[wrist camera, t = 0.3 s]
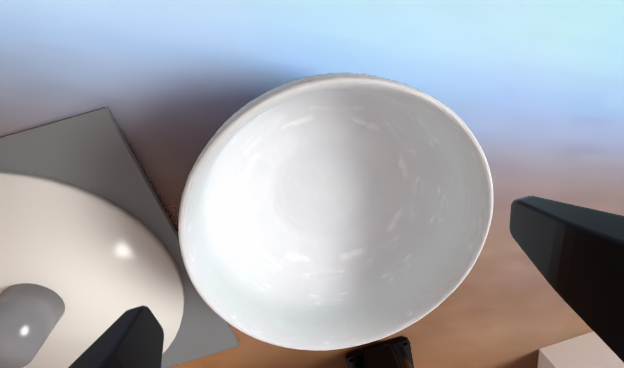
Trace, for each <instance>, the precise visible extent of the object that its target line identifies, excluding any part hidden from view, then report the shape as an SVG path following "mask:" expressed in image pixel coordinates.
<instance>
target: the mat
mask: <svg viewBox="0 0 624 368" xmlns="http://www.w3.org/2000/svg"><path fill="white" fill-rule="evenodd" d="M0 171H11V172H19V173H28V174H33V175H38V176H43V177H47V178H52V179H56V180H59V181H62V182H65V183H69V184H72V185H75V186H78V187H80V188H83V189H85V190H87V191H90V192H92V193H95V194H97V195H99V196H101V197H103V198H105V199H107V200H109V201H110V202H112V203H114V204H116V205H118V206H120V207H121V208H123V209H124V210H125V211H127V212H128V213H130V214H131V215H133V216H134V217H136V218H137V219H138V220H139V221H141V222H142V223H143V224H144V225H145V226H146V227H148V228H149V229H150V230H151V231H152V232H153V233H154V234H155V235H156V236H157V237H158V238H159V240H160V241H161V242H162V243H163V244H164V245H165V247H166V248H167V250H168V251H169V253H170V254H171V255H172V257H173V259H174V261H175V263H176V265H177V267H178V269H179V271H180V274H181V277H182V281H183V284H184V292H185V306H184V312H183V316H182V320H181V324H180V327H179V330H178V332H177V334H176V336H175V338H174V340H173V341H172V343H171V344H170V346H169V347H168V349H167V350H166V351H165V352H164V353H163V354H162V363H161V368H168V367H171V366H175V365H178V364H181V363H185V362H188V361H191V360H195V359H198V358H201V357H205V356H208V355H211V354H215V353H218V352H221V351H225V350H228V349H231V348H235V347H238V346H239V342H238V340H237V338H236V337H235V335H234V333H233V331H232V329H231V328H230V326H229V324H228V322H226V321H225V320H223V319H222V318H221V317H220V316H219V315H217V314H216V313H215V312H214V311H213V310H212V309H211V308H210V307H209V306H208V305H207V304H206V302H205V301H204V300H203V299H202V297H201V296H200V295H199V293H198V292H197V290H196V289H195V287H194V285H193V284H192V282H191V280H190V278H189V276H188V273H187V271H186V268H185V265H184V262H183V259H182V255H181V250H180V245H179V237H178V233H177V231H176V229H175V227H174V226H173V224H172V222H171V220H170V218H169V217H168V215H167V213H166V211H165V209H164V208H163V206H162V204H161V202H160V200H159V199H158V197H157V195H156V193H155V192H154V190H153V188H152V186H151V184H150V183H149V181H148V179H147V177H146V175H145V174H144V172H143V170H142V168H141V166H140V165H139V163H138V161H137V159H136V158H135V156H134V154H133V152H132V150H131V149H130V147H129V145H128V143H127V141H126V140H125V138H124V136H123V134H122V132H121V131H120V129H119V127H118V125H117V123H116V122H115V120H114V118H113V116H112V115H111V113H110V111H109V109H108V107H106V108H102V109H99V110H95V111H92V112H88V113H85V114H81V115H78V116H74V117H71V118H67V119H64V120H60V121H57V122H53V123H49V124H46V125H42V126H39V127H35V128H32V129H28V130H25V131H21V132H18V133H14V134H11V135H7V136H4V137H0Z"/></svg>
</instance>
